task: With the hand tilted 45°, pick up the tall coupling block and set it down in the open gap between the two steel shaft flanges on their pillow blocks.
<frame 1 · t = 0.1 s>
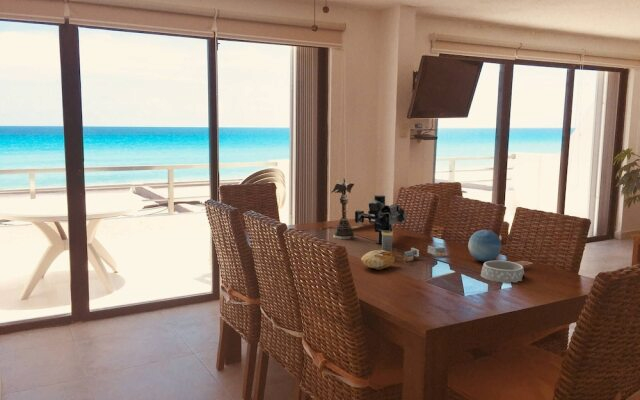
hand: (366, 220, 274), 17 cm above the table, tool horizontal, fingers open, 9 cm apart
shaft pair: (421, 256, 269), on the table
dog bowl: (502, 277, 235), on the table
bird statue: (341, 236, 317), on the table
nautilus: (384, 268, 248), on the table
coupling block: (386, 258, 266), on the table
decorative ball: (484, 261, 260), on the table
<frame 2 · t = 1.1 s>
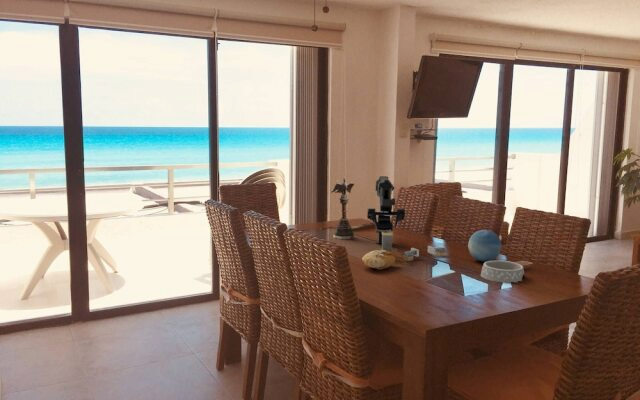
hand: (386, 227, 272), 13 cm above the table, tool tilted 45°, fingers open, 9 cm apart
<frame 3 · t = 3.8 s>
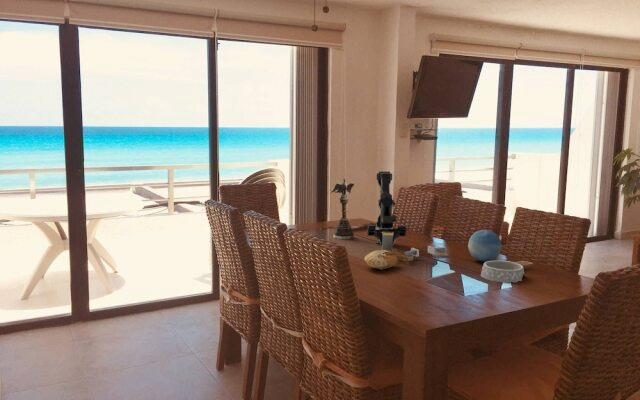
hand: (387, 245, 264), 7 cm above the table, tool tilted 45°, fingers closed on coupling block, 5 cm apart
coupling block: (386, 258, 266), on the table, touching gripper
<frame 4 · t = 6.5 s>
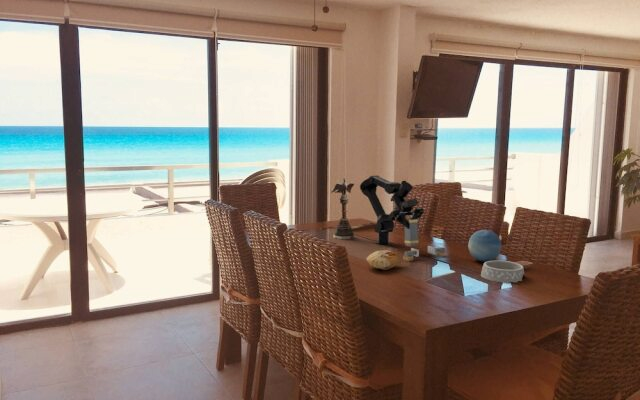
hand: (413, 227, 274), 13 cm above the table, tool tilted 45°, fingers closed on coupling block, 5 cm apart
coupling block: (411, 245, 276), point 4 cm above the table, tilted 7°, touching gripper
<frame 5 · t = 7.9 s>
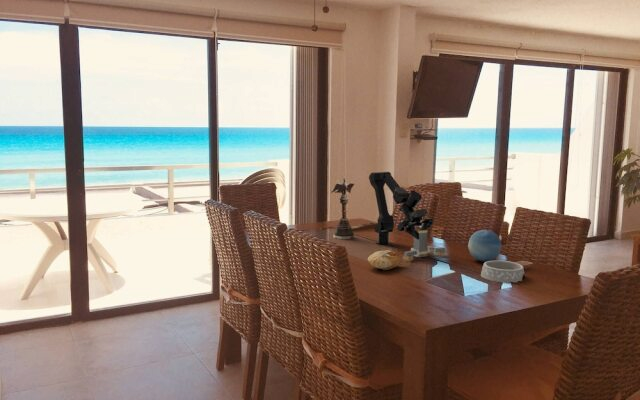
hand: (422, 238, 267), 9 cm above the table, tool tilted 45°, fingers closed on coupling block, 5 cm apart
coupling block: (420, 256, 270), on the table, touching gripper
when the fingers open (9 cm above the table, at t = 8.5 s): coupling block stays where it is, on the table.
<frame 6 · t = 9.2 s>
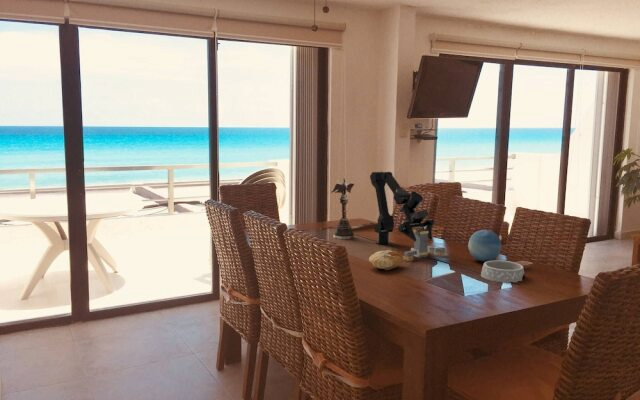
hand: (423, 239, 267), 9 cm above the table, tool tilted 45°, fingers open, 9 cm apart
coupling block: (420, 256, 269), on the table
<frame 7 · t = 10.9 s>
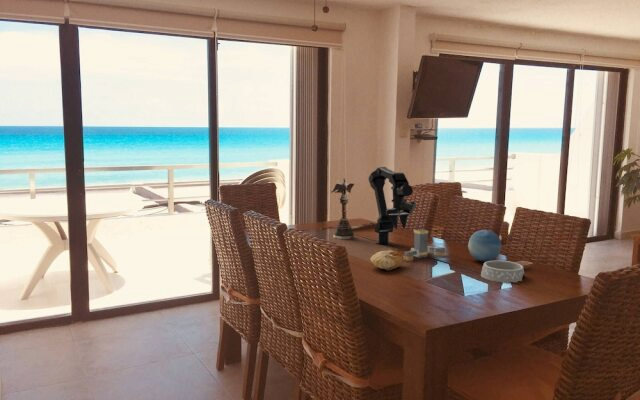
hand: (400, 228, 279), 12 cm above the table, tool pointing down, fingers open, 9 cm apart
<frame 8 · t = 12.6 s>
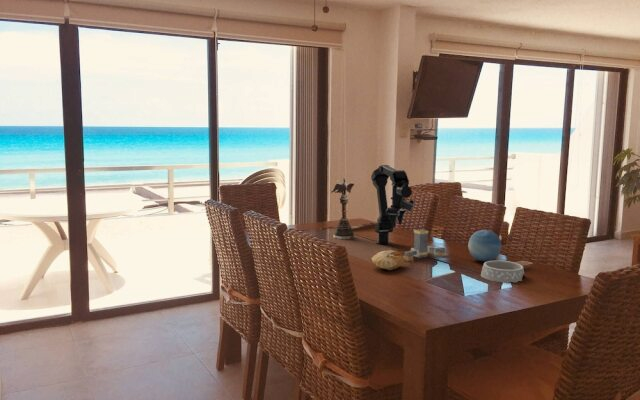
hand: (397, 225, 280), 13 cm above the table, tool pointing down, fingers open, 9 cm apart
at the end: coupling block 0.5 cm from the target spot, on the table; coupling block tilted 0°; the gripper is holding nothing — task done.
